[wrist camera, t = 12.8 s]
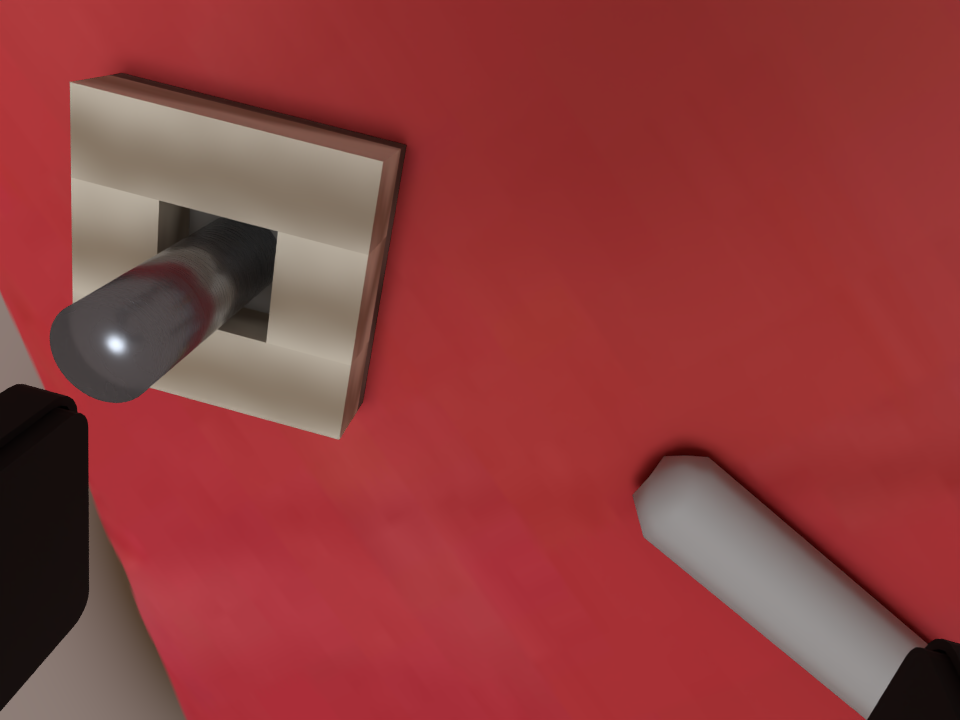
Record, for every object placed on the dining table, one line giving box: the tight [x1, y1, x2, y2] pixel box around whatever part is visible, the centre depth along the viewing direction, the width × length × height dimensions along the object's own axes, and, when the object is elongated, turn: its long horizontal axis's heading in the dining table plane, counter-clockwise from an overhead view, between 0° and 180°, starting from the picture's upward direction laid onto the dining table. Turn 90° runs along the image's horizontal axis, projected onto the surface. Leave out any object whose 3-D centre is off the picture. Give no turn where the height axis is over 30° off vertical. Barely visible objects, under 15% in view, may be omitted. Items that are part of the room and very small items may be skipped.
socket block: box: [70, 73, 406, 439], centre depth 39 cm, size 14×14×4 cm
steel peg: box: [50, 217, 277, 403], centre depth 35 cm, size 4×4×12 cm
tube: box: [633, 455, 928, 720], centre depth 42 cm, size 5×5×25 cm
